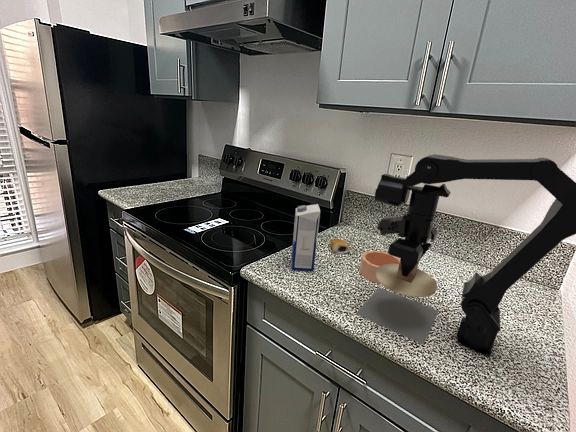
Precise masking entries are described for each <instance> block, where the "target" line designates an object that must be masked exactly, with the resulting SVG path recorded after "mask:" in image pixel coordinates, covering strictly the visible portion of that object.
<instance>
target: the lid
mask: <svg viewBox="0 0 576 432" xmlns="http://www.w3.org/2000/svg"><path fill="white" fill-rule="evenodd" d="M399 259H400V258H399ZM419 263H420V261H419V262H418V263H417V264H416V266H415V267H414V268H413V269H412V271H411V272H410V273H409V275H408V276H407V277H405V276H403V275H402V268H401V259H400V263H399V264H384V265H381V266H379V267H378V268H377V270H376V278H377V280H378V281H379V282H380V283H381V284H380V285H382V286H383V287H384V288H386V289H388V290H390V291H391V292H393V293H395V294H398V295H403V296H407V297H412V298H425V297H426V298H427V297H430V296H432V295H434V294H435V293H436V291H437V289H438V285H437V284H438V283H437V282H436V280H435V279H434V278H433V277H432V275H430V274H429V273H427V272H426V271H423V270H421V269H419Z"/></svg>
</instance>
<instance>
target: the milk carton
mask: <svg viewBox="0 0 576 432" xmlns="http://www.w3.org/2000/svg"><path fill="white" fill-rule="evenodd" d="M320 208H321V207H320V206H319V204H318V203H316V204H309V205H299V206H297V207H296V208H295V213H294V224H293V226H294V227H293V233H292V234H293V235H292V247H291V257H290V263H291V265H290V266H291V271H295V272H297V271H298V272H311V273H313V272H314V269H315V260H316V251H317V243H318V236H319V226H320V219H321V209H320Z"/></svg>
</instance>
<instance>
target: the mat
mask: <svg viewBox="0 0 576 432" xmlns="http://www.w3.org/2000/svg"><path fill="white" fill-rule="evenodd" d="M439 312H440V311H439V310H438V309H435V308H432V307H431V306H427V305H425V304H421V303H419V302H418V301H415V300H412V299H410V298H407V297H404V296H402V295H401V294H398V293H395V292H393V291H389V290H387V289H384V288H381V287H378V288H377V290H376V291H375V292H374V293H373V294H372V295H371V296H370V297H369V298H368V299H367V301H365V302H364V304H363V305H362V306H361V307H360V308H359V309H358V311H357V312H356V313H355V314H356V315H357V316H359V317H362V318H363V319H366V320H368V321H370V322H373V323H375V324H377V325H379V326H381V327H384V328H386V329H387V330H390V331H392V332H394V333H397V334H399V335H400V336H403V337H406V338H407V339H409V340H412V341H414V342H416V343H418V344H421V345H424V344H425V342H426V340H427V339H428V336H429V334H430V331H431V329H432V327H433V325H434V322H435V321H436V318H437V316H438V314H439Z"/></svg>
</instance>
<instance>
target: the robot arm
mask: <svg viewBox="0 0 576 432" xmlns="http://www.w3.org/2000/svg"><path fill="white" fill-rule="evenodd" d="M460 180H492V181H494V180H496V181H497V180H498V181H499V180H500V181H508V180H509V181H534V182H538V183H539V184H540V185H541V186H542V187H543V188H544V189H545V190H546V191H547V192H549V193H550V194H551V196H553V197H554V198H555V199H554V201H553V202H552V204H550V206H549V209H548V211H547V212H546V214H545V216H544V218H543V219H542V221H541V222H540V224H539V225H538V226H537V227H536V228H535V229H534V230H533V231H531V232H530V233H529V235H527V237H525V238H524V240H523V241H521V242H520V243H519V244H518V245H516V247H515V248H513V250H512V251H511V252H510V253H509V254H508V255H507V256H506V257H505V258H504V259H503V260H501V262H500V263H498V264H497V265H496V267H494V268H493V270H491V271H490V272H489V273H487V274H484V275H480V273H478V272H475V273H474V274H473V275H472V277H471V278H470V279H469V280H468V281H465V282H464V284H463V288H462V294H461V303H460V307H461V310H462V312H463V313H464V314H465V317H461V319H460V324H459V326H458V329H457V333H456V336H455V337H456V338H457V342H456V343H457V344H458V345H460V346H463V347H465V348H467V349H470V350H471V351H474V352H476V353H479V354H482V355H484V356H485V357H488V358H490V357H491V356H492V350H493V346H494V344H495V341H496V338H497V336H498V333H499V332H500V331H501V309H500V307H499V305H500V304H501V301H502V300H503V298H504V296H505V294H506V293H507V291H508V290H509V289H510V288H512V286H513V285H515V284H516V282H518V281H520V279H521V278H522V277H523V276H525V275H526V274H527V273H528V272H529V271H530V270H532V269H533V268H534V267H535V266H536V265H537V264H538V263H539V262H540V261H542V259H544V258H545V257H546V256H548V254H549V253H550V252H551V251H553V250H554V249H555V248H556V247H557V246H558V245H559V244H560V243H561V242H562V241H564V240H566V239H567V238H570V237H573V236H575V235H576V182H575V181H574V179H572V178H571V177H570V176H569V175H568V174H566V173H565V172H564V171H563V170H562V169H560V168H559V166H558V164H557V163H556V162H555V161H554V160H552V159H550V158H547V157H538V158H518V159H517V158H513V159H512V158H508V159H507V158H504V159H503V158H500V159H496V158H495V159H493V158H492V159H491V158H490V159H466V158H459V157H456V156H449V155H443V154H435V153H434V154H429V155H427V156H425V157H422V158H421V159H419V160H418V161H417V163H416V164H415V167H414V171H413V172H412V173H411V174H409V175H407V176H406V178H405V177H401V176H395V175H392V174H389V173H383V174H381V177H380V180H379V181H378V185H377V188H376V189H375V192H374V201H375V203H376V202H377V203H380V204H383V205H390V206H393V207H397V208H401V207H402V205H403V204H404V205H407V203H408V201H409V204H408V206H407V210H406V211H407V213H405V214H404V215H402V216H393V217H385V218H381V220H379V221H378V223H377V224H378V225H377V228H376V229H377V230H378V231H379V232H380V235H381V236H386V235H391V234H392V235H393V234H394V235H395V234H398V235H397V237H400V238H397V239H395V240H394V241H392V242H391V243H390V244H389V245H388V250H387V253H388V254H389V255H392V256H395V257H398V258H399V259H401V268H402V275H403V276H405V277H407V276H408V275H409V273H410V272H411V271H412V269H413V268H414V267H415V266H416V264H417V263H418V262H419V263H420V261H421V260H422V258H423V257H424V255H425V254H426V252H428V250H429V249H430V248H431V246H432V244H431V243H429V241H431V242H434V241H436V238H437V235H438V231H437V229H436V228H435V227H434V226H433V224H434V223H435V221H436V218H437V216H436V212H437V208H438V204H439V200H440V197H443V198H449V196H451V191H450V190H449V189H448V187H447V185H446V184H445V183H448V182H453V181H460ZM440 183H442V184H441V185H439V186H438V185H435V184H440ZM419 184H424V185H423V186H417V185H419ZM403 238H404V239H403Z"/></svg>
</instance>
